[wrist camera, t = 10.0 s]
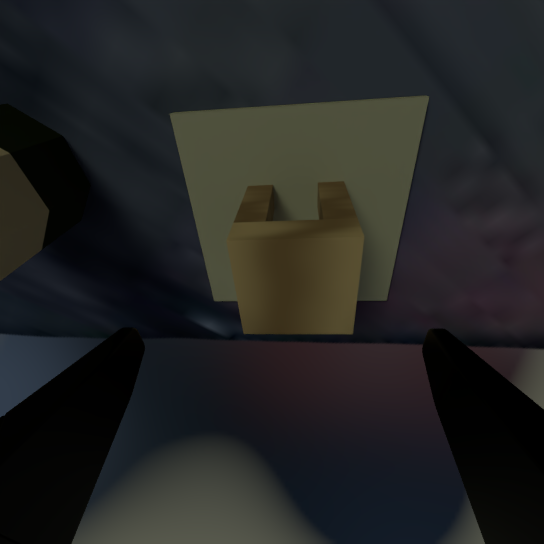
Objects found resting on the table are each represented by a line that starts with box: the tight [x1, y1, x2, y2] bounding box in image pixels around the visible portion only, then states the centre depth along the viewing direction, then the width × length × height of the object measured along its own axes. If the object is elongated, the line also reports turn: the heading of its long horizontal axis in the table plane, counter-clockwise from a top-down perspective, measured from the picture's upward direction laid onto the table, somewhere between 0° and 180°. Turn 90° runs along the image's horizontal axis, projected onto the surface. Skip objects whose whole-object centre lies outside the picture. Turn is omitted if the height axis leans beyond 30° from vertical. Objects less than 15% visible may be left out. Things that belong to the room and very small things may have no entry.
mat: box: [170, 96, 429, 301], centre depth 20 cm, size 14×14×1 cm
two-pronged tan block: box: [226, 181, 364, 334], centre depth 17 cm, size 6×6×7 cm
